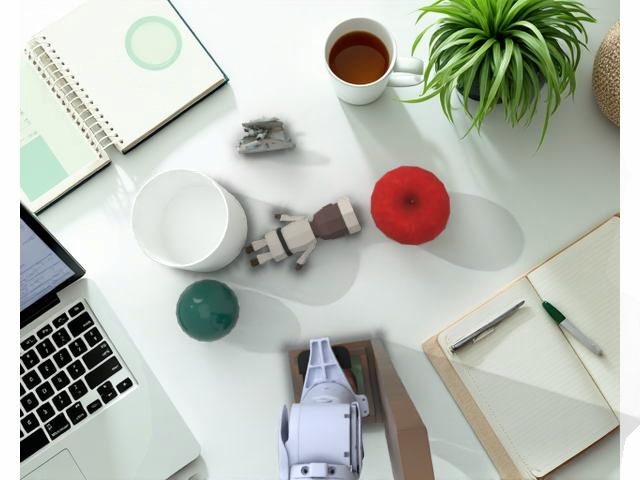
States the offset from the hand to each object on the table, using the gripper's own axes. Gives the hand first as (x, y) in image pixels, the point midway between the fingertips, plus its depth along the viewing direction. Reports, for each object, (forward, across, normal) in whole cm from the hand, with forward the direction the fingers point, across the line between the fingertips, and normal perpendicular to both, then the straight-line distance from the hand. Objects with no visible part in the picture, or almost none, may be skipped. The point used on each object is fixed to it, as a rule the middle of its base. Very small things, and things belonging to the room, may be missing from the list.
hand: (333, 396), depth 72 cm
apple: (+9, +21, -12) cm, 26 cm away
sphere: (+9, +12, +14) cm, 21 cm away
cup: (+9, +23, +14) cm, 29 cm away
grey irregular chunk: (+9, +34, +4) cm, 35 cm away
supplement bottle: (+8, 0, 0) cm, 8 cm away
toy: (+9, +20, +2) cm, 22 cm away
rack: (+9, 0, 0) cm, 9 cm away
